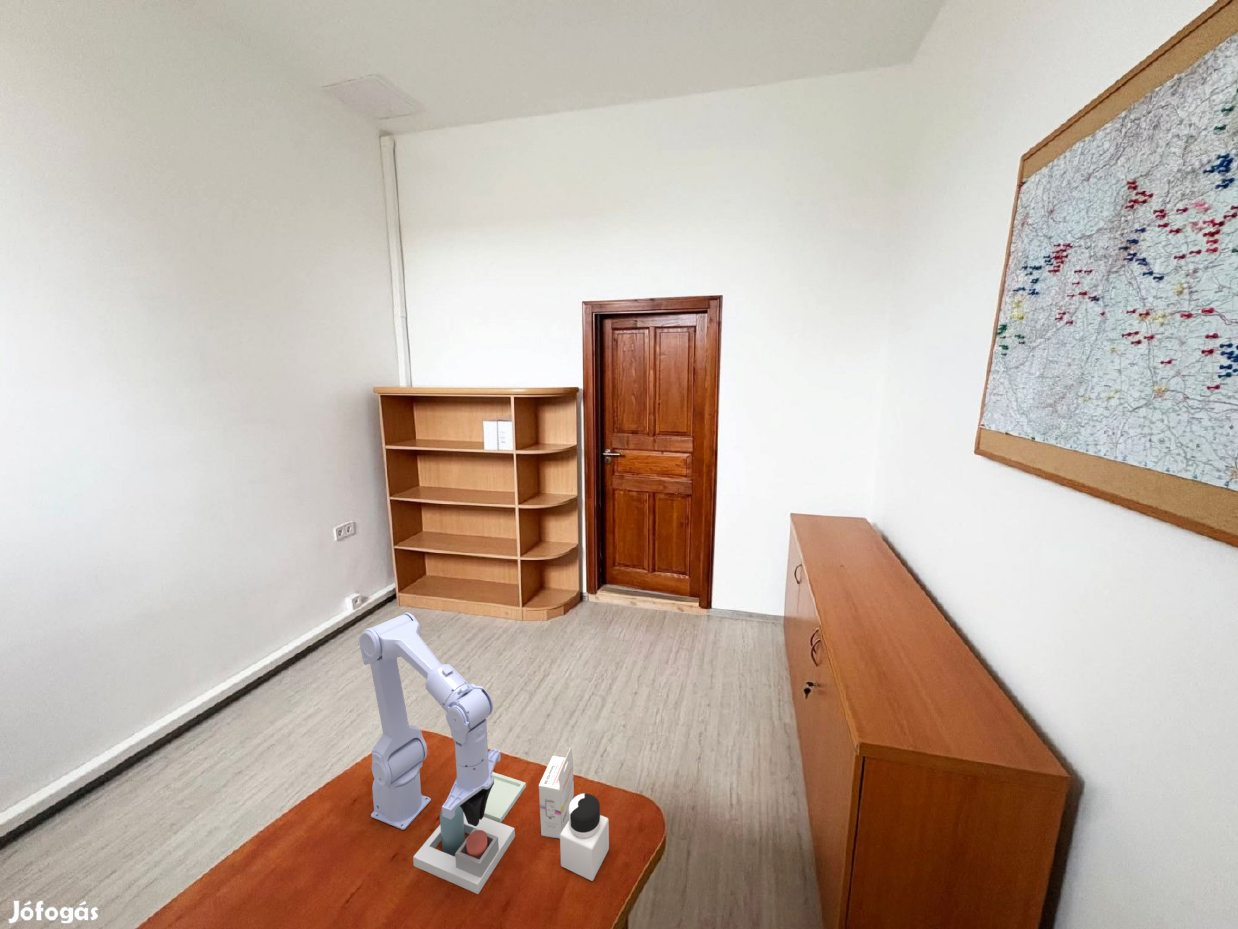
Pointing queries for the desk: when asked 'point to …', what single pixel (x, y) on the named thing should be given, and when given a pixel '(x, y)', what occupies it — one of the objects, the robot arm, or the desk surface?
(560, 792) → the ink cartridge box
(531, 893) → the desk surface
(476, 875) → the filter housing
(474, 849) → the release plunger
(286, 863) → the desk surface
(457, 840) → the cylinder
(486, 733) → the robot arm
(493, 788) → the tray
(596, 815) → the medicine bottle
